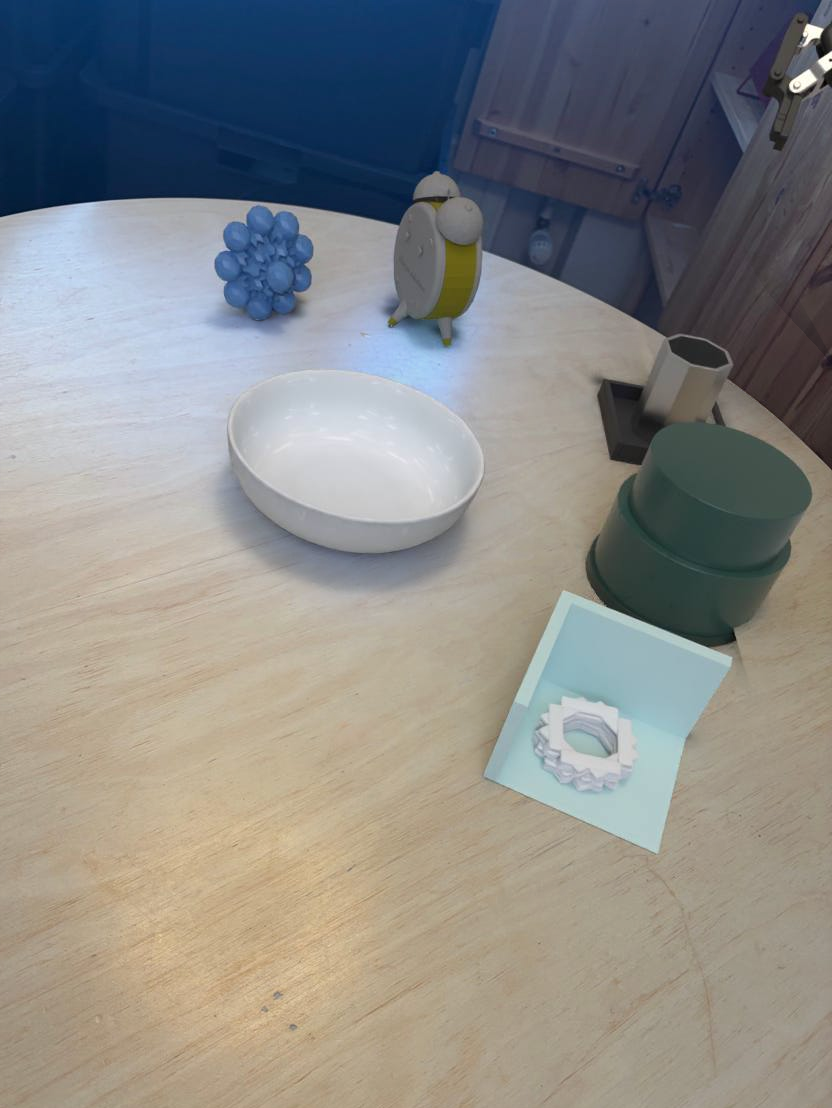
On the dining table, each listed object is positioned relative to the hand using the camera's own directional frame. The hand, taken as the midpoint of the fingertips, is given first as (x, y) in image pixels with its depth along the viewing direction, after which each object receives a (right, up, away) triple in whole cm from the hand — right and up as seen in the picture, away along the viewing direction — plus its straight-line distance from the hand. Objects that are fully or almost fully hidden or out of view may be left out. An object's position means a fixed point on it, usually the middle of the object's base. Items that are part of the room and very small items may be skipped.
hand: (831, 159), depth 81 cm
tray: (-8, -19, +19) cm, 28 cm away
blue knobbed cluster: (-49, -7, +22) cm, 54 cm away
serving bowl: (-40, -28, +2) cm, 49 cm away
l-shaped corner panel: (-23, -48, -13) cm, 55 cm away
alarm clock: (-33, -5, +28) cm, 43 cm away
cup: (-8, -19, +19) cm, 28 cm away
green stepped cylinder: (-13, -35, +2) cm, 37 cm away
